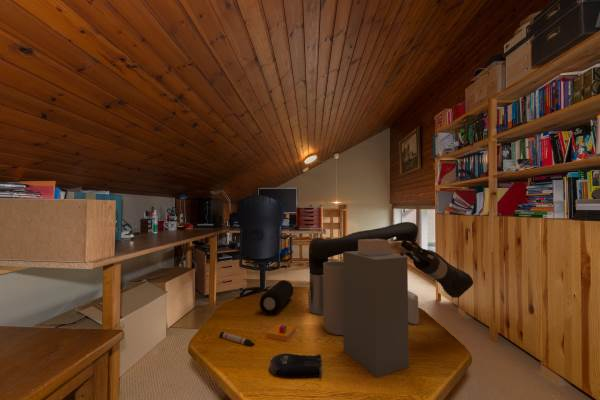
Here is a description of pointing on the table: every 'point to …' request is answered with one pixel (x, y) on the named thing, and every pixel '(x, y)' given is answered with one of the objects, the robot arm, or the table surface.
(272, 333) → the orange wooden platform
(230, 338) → the marker
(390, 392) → the table surface
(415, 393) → the table surface
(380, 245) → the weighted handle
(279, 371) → the electronic device
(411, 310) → the photo printer
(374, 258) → the tall shelf
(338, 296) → the cylinder vase
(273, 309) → the portable speaker
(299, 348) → the table surface
